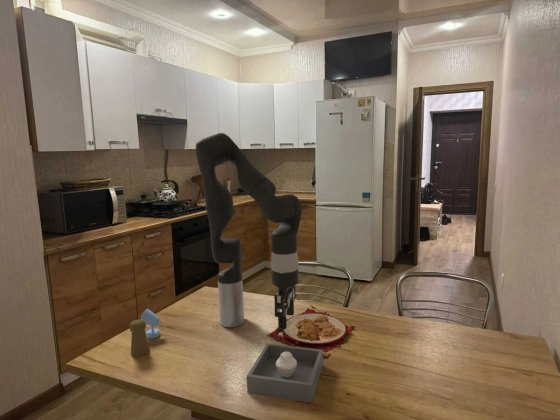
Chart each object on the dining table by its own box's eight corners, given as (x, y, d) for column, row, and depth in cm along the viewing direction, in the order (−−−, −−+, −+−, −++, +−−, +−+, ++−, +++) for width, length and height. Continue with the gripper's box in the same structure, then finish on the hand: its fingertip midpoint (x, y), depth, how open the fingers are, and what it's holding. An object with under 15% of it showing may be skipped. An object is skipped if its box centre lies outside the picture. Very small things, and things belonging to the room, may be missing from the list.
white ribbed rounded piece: (299, 379, 108) (298, 356, 107) (277, 382, 108) (277, 359, 106) (295, 367, 114) (294, 345, 113) (274, 369, 114) (274, 347, 112)
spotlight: (139, 337, 138) (157, 339, 136) (137, 311, 136) (154, 313, 135) (147, 331, 142) (164, 332, 141) (144, 306, 141) (161, 307, 139)
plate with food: (266, 339, 136) (266, 329, 135) (308, 311, 156) (308, 303, 155) (325, 362, 120) (325, 352, 120) (363, 328, 141) (363, 319, 140)
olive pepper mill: (143, 357, 125) (140, 325, 123) (127, 355, 126) (123, 324, 124) (153, 347, 130) (150, 317, 129) (137, 346, 132) (134, 316, 130)
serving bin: (267, 357, 122) (266, 343, 121) (323, 365, 117) (322, 349, 116) (247, 392, 105) (246, 376, 104) (311, 402, 100) (311, 385, 99)
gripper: (278, 258, 113) (280, 309, 116) (263, 274, 100) (266, 332, 102) (303, 259, 111) (304, 312, 114) (291, 276, 98) (293, 335, 100)
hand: (286, 321), depth 108 cm, fingers open, 8 cm apart
